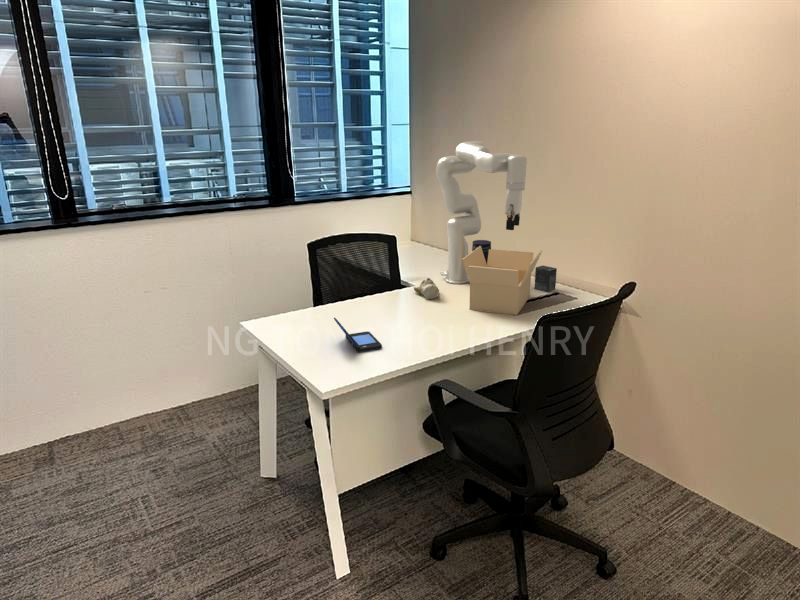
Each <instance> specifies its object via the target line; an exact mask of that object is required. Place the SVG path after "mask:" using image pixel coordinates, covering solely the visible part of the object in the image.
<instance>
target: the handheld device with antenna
mask: <svg viewBox="0 0 800 600" xmlns="http://www.w3.org/2000/svg"><path fill="white" fill-rule="evenodd" d="M333 319H334V320H333V321H334V322H335V323H336V324H337V325H338V327H339V328H340V329H341V330H342V332H343V333H344V334H345V339H346V340H347V341H348V342H349V343H350V344H352V346H353V348H354V349H355V352H357V353H361V352H363V353H364V352H367V351H368V352H369V351H373V350H379V349H381V348H382V347H383V344H382V343H381V342H380V341H379V340H378V339H377V338H376V337H375V336H374V335H373V334H372V333H371V331H362V332H354V333H348V331H347V330H346V329H345V327H344V326H343V325H342V323H340V321H338V319H337V318H336V317H333Z"/></svg>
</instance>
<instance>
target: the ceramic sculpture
mask: <svg viewBox="0 0 800 600" xmlns="http://www.w3.org/2000/svg"><path fill="white" fill-rule="evenodd" d="M413 291H415V292H416V293H417V294H421V295H423V296H424V298H425V299H428V300H433V299H435V298H437V297H438V296H439V293H440V289H439V287H438V286H437V285H436V283H435V282H434V281H433V280H432V279H431V278H429V277H428V278H426V279H423V280H422V281H421V282H420V284H419V286H417V287H415V286H414V287H413Z"/></svg>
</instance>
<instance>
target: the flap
mask: <svg viewBox="0 0 800 600" xmlns="http://www.w3.org/2000/svg"><path fill="white" fill-rule="evenodd" d="M542 252H543V250H542V249H541V250H540V251H539V252H538V253H537V255H535V257H533V261H532V262H531V263H530V265H529V267H528V269H527V271H526V273H525V275H524V278H523V280H522V282H521V284H520V287H521V286H522V284H523V283H524V282H525V281H526V279H527V278H528V277H529V275H530V274H531V275H532V273H533V271H534V269H536V266H537V264H538V261H539V259H540V256H541V255H542Z"/></svg>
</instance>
